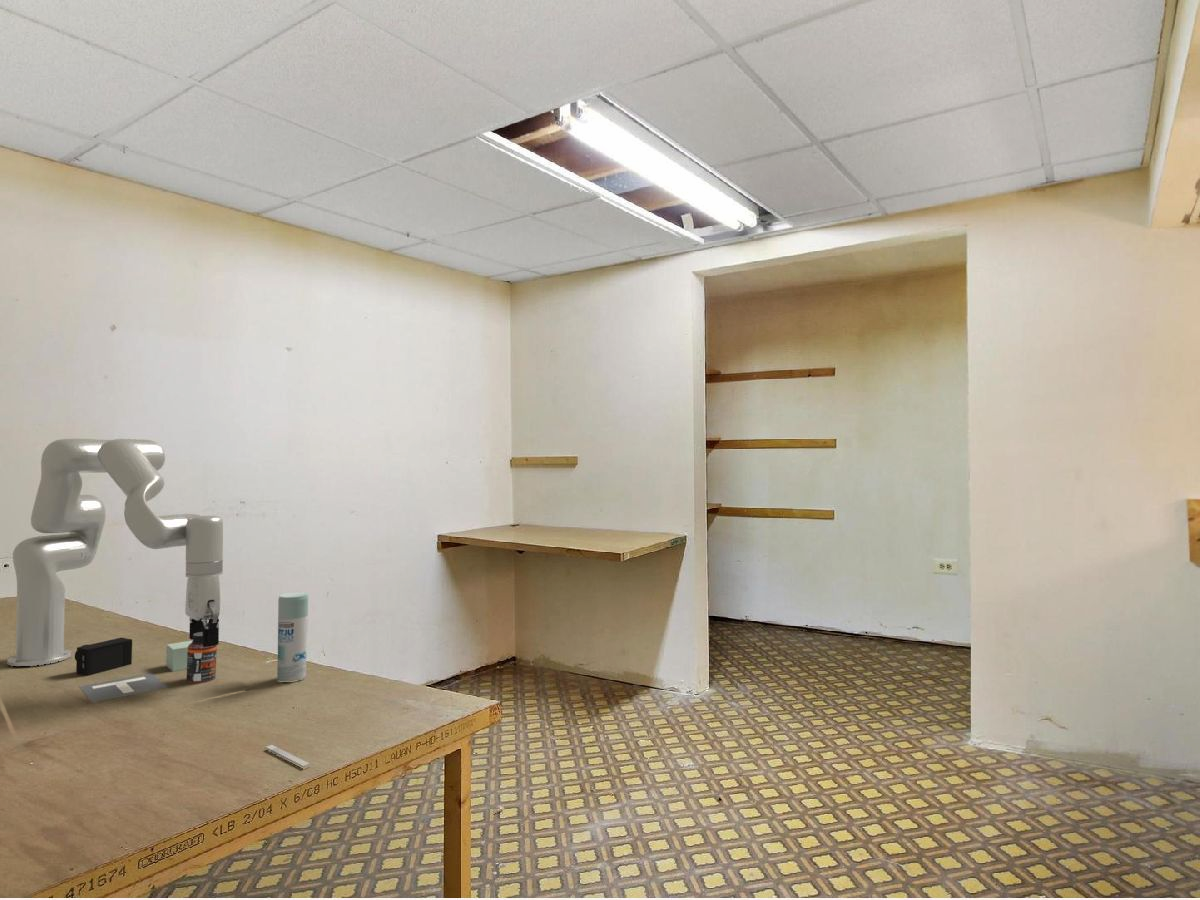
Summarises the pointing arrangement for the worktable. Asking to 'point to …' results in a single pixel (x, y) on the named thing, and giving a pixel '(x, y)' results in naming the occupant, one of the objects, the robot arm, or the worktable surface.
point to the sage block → (177, 655)
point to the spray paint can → (292, 636)
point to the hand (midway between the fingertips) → (203, 642)
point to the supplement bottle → (200, 661)
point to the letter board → (122, 687)
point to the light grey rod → (286, 755)
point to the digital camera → (103, 656)
